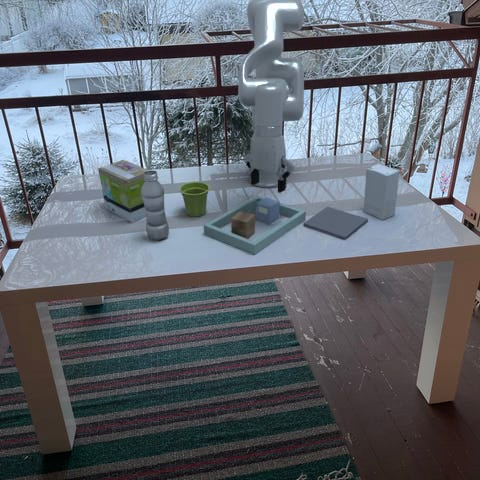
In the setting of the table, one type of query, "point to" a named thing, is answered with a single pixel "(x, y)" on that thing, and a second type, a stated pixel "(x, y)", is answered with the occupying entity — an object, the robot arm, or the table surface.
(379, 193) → the skincare box
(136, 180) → the tea box
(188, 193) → the plant pot
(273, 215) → the slate box
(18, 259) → the table surface
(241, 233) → the walnut block
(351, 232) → the mat
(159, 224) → the plastic bottle
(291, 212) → the tray
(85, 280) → the table surface
